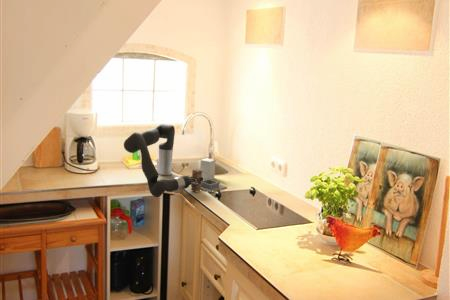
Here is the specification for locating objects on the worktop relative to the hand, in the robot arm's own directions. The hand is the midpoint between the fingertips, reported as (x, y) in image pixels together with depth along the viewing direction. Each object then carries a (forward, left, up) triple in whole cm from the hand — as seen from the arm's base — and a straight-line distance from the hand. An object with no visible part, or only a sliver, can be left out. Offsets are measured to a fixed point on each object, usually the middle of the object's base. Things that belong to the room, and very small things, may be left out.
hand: (199, 178), depth 285 cm
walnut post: (0, -3, -8) cm, 8 cm away
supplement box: (-14, +23, -8) cm, 28 cm away
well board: (0, +9, -8) cm, 12 cm away
